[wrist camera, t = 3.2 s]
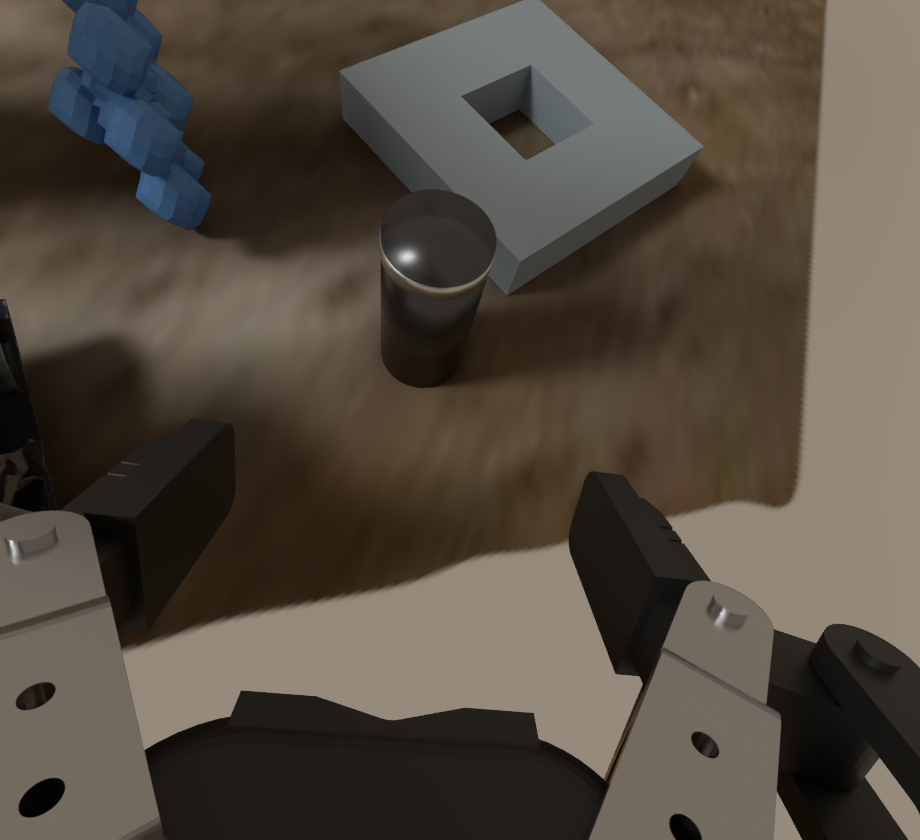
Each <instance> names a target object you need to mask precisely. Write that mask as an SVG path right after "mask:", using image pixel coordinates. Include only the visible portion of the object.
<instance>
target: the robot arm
mask: <svg viewBox="0 0 920 840" xmlns="http://www.w3.org/2000/svg"><path fill="white" fill-rule="evenodd" d="M234 495H235V436H234V429H233V426H232V425H231V424H230V423H222V422H214V421H206V420H199V419H192V420H190V421H189V422H188V423H187V424H186V425H185V426H183V427H182V428H181V429H180V430H179V431H178V432H176V433H175V434H174V435H173V436H172V437H171V438H161V439H158V440H156V441H153V442H151V443H148V444H146V445H143V446H141V447H139V448H137V449H136V450H135V451H133V452H132V453H131V454H130V455H128V456H127V457H126V458H125V459H123V460H122V462H121V464H117V465H116V466H115V467H113V468H112V469H111V470H110V471H109V472H108V474H107V475H104V476H102V477H101V478H100V479H99V480H97V481H96V482H95V483H94V484H92V485H91V486H90V487H89V488H87V489H86V490H85V491H84V492H82V493H81V494H80V495H79V496H77V497H76V498H75V499H74V500H73V501H71V502H70V503H69V504H68V505H66V506H65V507H64V508H63V509H61V510H60V511H40V512H33V513H28V514H24V515H19V516H16V517H13V518H9V519H7V520H4V521H1V522H0V840H773V838H774V822H775V807H776V793H777V792H778V794H779V796H780V798H781V800H782V802H783V804H784V806H785V807H786V809H787V811H788V813H789V815H790V817H791V819H792V821H793V823H794V825H795V827H796V828H797V830H798V832H799V834H800V836H801V838H802V840H908V839H907V837H906V836H905V835H904V833H903V832H902V830H901V829H900V827H899V826H898V825H897V823H896V822H895V820H894V819H893V818H892V816H891V814H890V813H889V811H888V810H887V809H886V807H885V806H884V804H883V803H882V801H881V800H880V799H879V797H878V796H877V794H876V793H875V791H874V790H873V789H872V787H871V786H870V784H869V783H868V781H867V780H866V778H865V775H866V774H867V773H868V772H869V770H870V769H871V768H872V767H873V765H874V764H875V763H876V762H877V760H878V759H879V758H880V759H881V760H882V761H883V763H884V764H885V765H886V766H887V768H888V769H889V771H890V772H891V773H892V775H893V776H894V777H895V779H896V780H897V781H898V783H899V784H900V785H901V787H902V788H903V789H904V791H905V792H906V793H907V795H908V796H909V797H910V799H911V800H912V802H913V803H914V804H915V806H916V808H917V810H918V812H919V814H920V668H919V667H918V666H917V665H916V664H915V663H914V662H913V661H912V660H911V659H910V658H908V656H906V655H905V654H904V653H903V652H901V651H900V650H899V649H897V648H896V647H894V646H893V645H892V644H890V643H888V642H887V641H885V640H883V639H881V638H879V637H878V636H876V635H874V634H872V633H870V632H867V631H865V630H862V629H860V628H857V627H854V626H849V625H845V624H832V625H830V626H828V627H827V628H826V629H825V630H824V632H823V634H822V635H821V637H820V638H819V640H818V642H817V643H813V642H810V641H807V640H804V639H801V638H798V637H795V636H792V635H789V634H786V633H783V632H780V631H777V630H774V629H773V625H772V623H771V621H770V619H769V617H768V616H767V615H766V613H765V612H764V611H763V610H762V609H761V608H760V607H759V606H758V605H757V604H756V603H755V602H753V601H752V600H751V599H749V598H748V597H746V596H745V595H743V594H742V593H740V592H738V591H736V590H734V589H732V588H730V587H727V586H725V585H722V584H719V583H715V582H711V581H710V579H709V578H708V576H707V575H706V574H705V572H704V571H703V569H702V568H701V567H700V565H699V564H698V562H697V561H696V560H695V558H694V557H693V556H692V554H691V553H690V552H689V550H688V549H687V547H686V546H685V545H684V544H682V543H681V539H680V538H679V536H678V535H677V533H676V532H675V531H672V526H671V525H670V524H669V522H668V521H667V519H666V518H665V517H664V515H663V514H662V513H661V512H660V511H659V510H657V509H656V508H655V507H654V506H652V505H651V504H650V503H649V502H647V501H646V500H645V499H642V498H639V496H638V495H637V493H636V492H635V490H634V489H633V488H632V486H631V485H630V483H629V482H628V480H627V479H626V477H625V476H623V475H617V474H609V473H602V472H594V471H591V472H590V473H589V474H588V475H587V476H586V479H585V481H584V484H583V488H582V491H581V494H580V497H579V501H578V504H577V507H576V510H575V514H574V517H573V520H572V523H571V527H570V532H569V549H570V553H571V556H572V559H573V562H574V564H575V567H576V570H577V572H578V575H579V577H580V580H581V583H582V586H583V588H584V591H585V594H586V596H587V599H588V602H589V604H590V607H591V609H592V612H593V615H594V617H595V620H596V623H597V626H598V628H599V631H600V634H601V636H602V639H603V642H604V644H605V647H606V649H607V652H608V655H609V658H610V660H611V663H612V666H613V668H614V671H615V673H616V674H620V675H632V676H640V678H641V681H642V683H643V686H642V688H641V690H640V692H639V694H638V697H637V699H636V702H635V704H634V706H633V709H632V711H631V714H630V716H629V719H628V721H627V723H626V726H625V728H624V731H623V733H622V736H621V738H620V741H619V743H618V746H617V748H616V750H615V753H614V756H613V758H612V760H611V763H610V765H609V767H608V770H607V772H606V775H605V777H604V779H602V778H601V777H600V776H599V775H598V774H597V773H596V772H595V771H593V770H592V769H591V768H590V767H588V766H587V765H586V764H584V763H583V762H582V761H580V760H579V759H577V758H576V757H574V756H572V755H571V754H569V753H567V752H566V751H564V750H562V749H560V748H558V747H556V746H554V745H552V744H550V743H548V742H545V741H542V740H539V739H538V734H537V729H536V723H535V718H534V713H525V712H512V711H500V710H486V709H474V708H461V709H456V710H451V711H445V712H439V713H434V714H428V715H424V716H417V717H412V718H406V719H401V720H385V719H381V718H378V717H375V716H372V715H369V714H367V713H364V712H361V711H358V710H355V709H352V708H349V707H346V706H343V705H340V704H337V703H334V702H331V701H328V700H325V699H322V698H319V697H317V696H305V695H292V694H278V693H266V692H252V691H241V692H240V695H239V697H238V700H237V702H236V704H235V707H234V709H233V712H232V714H231V717H226V718H221V719H216V720H213V721H209V722H206V723H202V724H199V725H196V726H193V727H191V728H188V729H186V730H183V731H181V732H178V733H176V734H174V735H172V736H170V737H168V738H166V739H164V740H162V741H160V742H158V743H156V744H154V745H152V746H151V747H149V748H147V749H146V750H144V747H143V743H142V739H141V734H140V730H139V725H138V721H137V716H136V712H135V708H134V704H133V699H132V695H131V690H130V686H129V682H128V677H127V673H126V669H125V664H124V660H123V656H122V651H121V647H120V643H119V638H118V634H117V633H118V632H119V630H120V629H123V630H135V631H146V632H148V631H149V629H150V628H151V626H152V625H153V623H154V622H155V620H156V619H157V617H158V616H159V614H160V613H161V612H162V610H163V609H164V607H165V606H166V604H167V603H168V601H169V600H170V598H171V597H172V595H173V594H174V593H175V591H176V590H177V588H178V587H179V585H180V584H181V582H182V581H183V579H184V578H185V576H186V575H187V574H188V572H189V571H190V569H191V568H192V566H193V565H194V563H195V562H196V560H197V559H198V557H199V556H200V555H201V553H202V552H203V550H204V549H205V547H206V546H207V544H208V543H209V541H210V540H211V538H212V537H213V536H214V534H215V533H216V531H217V530H218V528H219V527H220V525H221V524H222V522H223V521H224V519H225V518H226V517H227V515H228V513H229V511H230V509H231V507H232V504H233V500H234Z"/></svg>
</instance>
